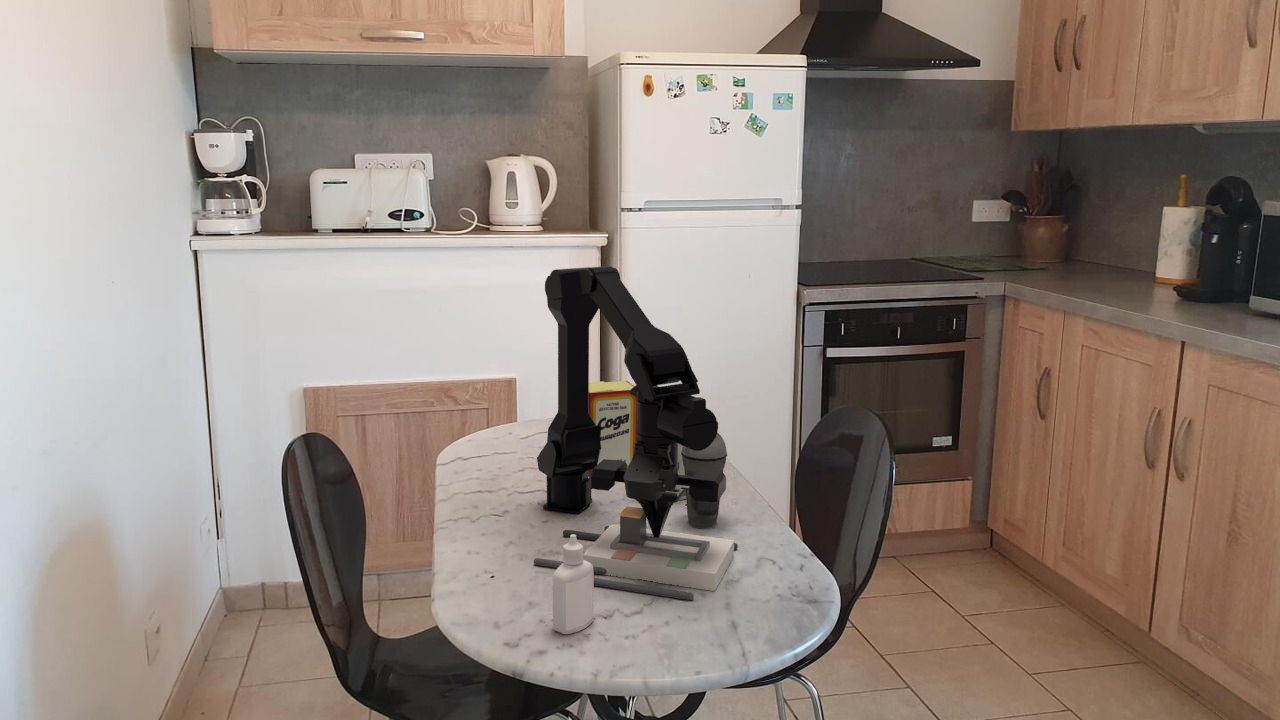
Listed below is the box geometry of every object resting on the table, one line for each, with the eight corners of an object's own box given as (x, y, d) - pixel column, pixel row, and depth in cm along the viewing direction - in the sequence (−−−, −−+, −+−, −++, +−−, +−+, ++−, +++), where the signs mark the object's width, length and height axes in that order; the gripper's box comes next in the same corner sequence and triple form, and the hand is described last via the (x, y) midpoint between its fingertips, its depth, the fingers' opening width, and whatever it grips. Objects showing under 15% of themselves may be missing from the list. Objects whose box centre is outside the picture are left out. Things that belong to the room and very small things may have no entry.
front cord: (522, 575, 136) (522, 569, 135) (535, 562, 140) (535, 556, 140) (692, 601, 128) (693, 594, 128) (701, 587, 133) (701, 580, 132)
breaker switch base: (583, 571, 137) (582, 550, 137) (611, 539, 148) (611, 519, 148) (714, 591, 132) (715, 569, 131) (733, 556, 143) (734, 535, 142)
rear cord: (561, 536, 149) (561, 530, 149) (572, 526, 153) (572, 520, 153) (731, 560, 141) (731, 553, 141) (738, 548, 146) (738, 542, 145)
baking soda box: (626, 460, 185) (627, 378, 182) (638, 471, 179) (638, 387, 176) (578, 465, 182) (578, 382, 179) (588, 476, 176) (588, 391, 173)
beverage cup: (722, 533, 151) (726, 408, 147) (676, 529, 152) (678, 405, 148) (727, 516, 158) (731, 396, 154) (683, 512, 159) (685, 394, 155)
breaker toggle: (619, 545, 140) (620, 513, 139) (626, 537, 142) (626, 506, 141) (639, 548, 139) (640, 516, 138) (646, 540, 142) (646, 508, 141)
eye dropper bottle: (600, 629, 121) (600, 539, 118) (556, 637, 119) (556, 545, 116) (589, 614, 125) (589, 526, 122) (547, 621, 123) (546, 531, 120)
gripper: (573, 442, 131) (575, 550, 135) (709, 455, 126) (707, 568, 129) (601, 420, 142) (602, 521, 145) (728, 431, 136) (725, 536, 139)
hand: (657, 537), depth 139 cm, fingers closed
